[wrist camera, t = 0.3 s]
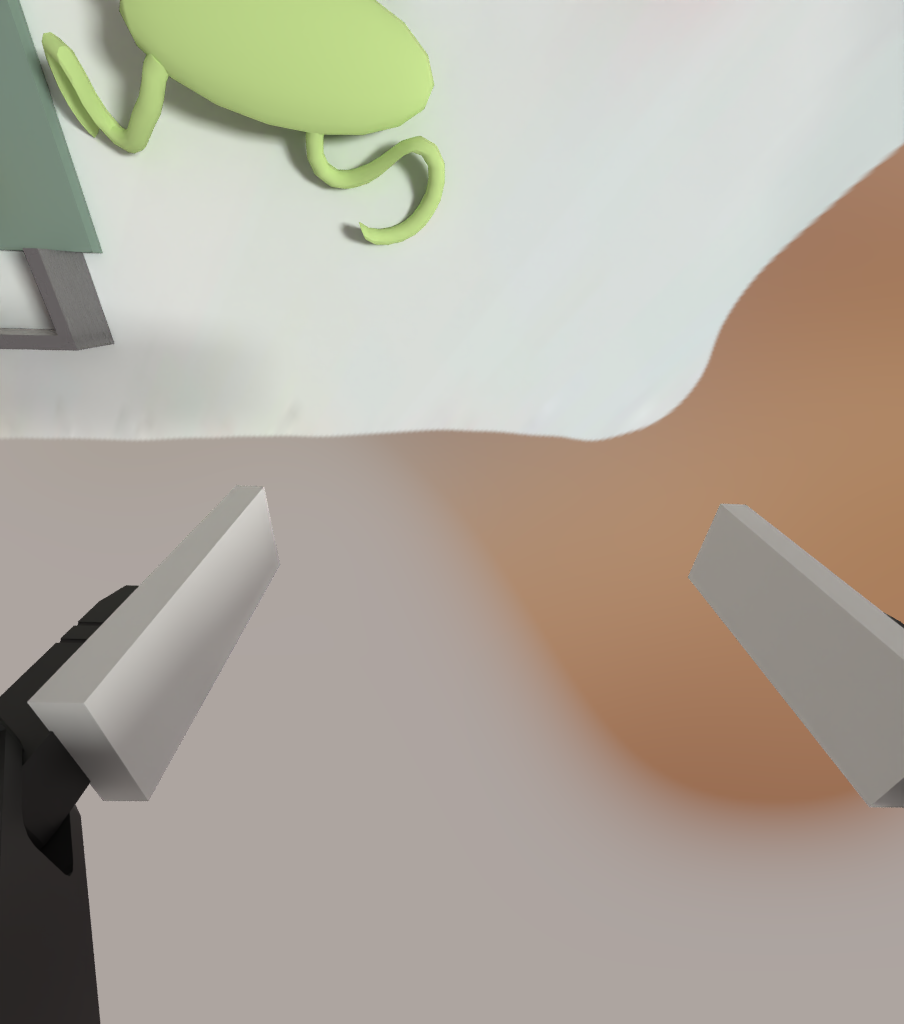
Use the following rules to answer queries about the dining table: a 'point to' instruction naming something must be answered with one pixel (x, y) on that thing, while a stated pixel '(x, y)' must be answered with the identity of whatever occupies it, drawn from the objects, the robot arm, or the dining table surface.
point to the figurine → (276, 78)
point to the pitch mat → (35, 153)
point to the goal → (62, 305)
